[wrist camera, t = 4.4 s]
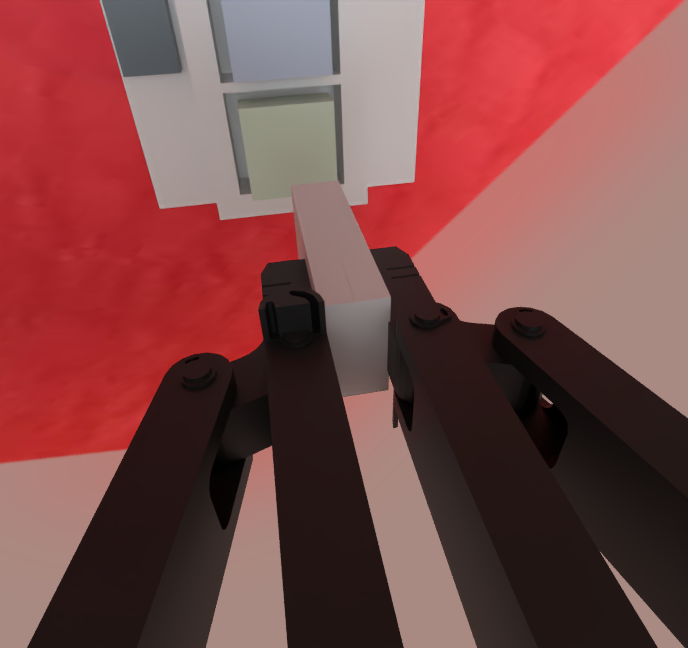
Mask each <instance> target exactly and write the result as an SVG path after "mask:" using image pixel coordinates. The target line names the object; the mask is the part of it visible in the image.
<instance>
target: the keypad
mask: <svg viewBox="0 0 688 648" xmlns="http://www.w3.org/2000/svg"><path fill="white" fill-rule="evenodd" d="M329 1H330V24H331V47H332V70H333V75H326V76H313V77H300V78H287V79H274V80H260V81H247V82H234V80H233V74H232V68H231V62H230V55H229V49H228V43H227V37H226V30H225V24H224V18H223V12H222V5H221V0H100V4H101V7H102V11H103V14H104V17H105V21H106V24H107V28H108V31H109V35H110V38H111V42H112V45H113V49H114V52H115V55H116V59H117V62H118V66H119V69H120V73H121V76H122V80H123V83H124V87H125V90H126V94H127V97H128V100H129V104H130V107H131V111H132V114H133V118H134V121H135V125H136V128H137V132H138V135H139V139H140V142H141V145H142V149H143V152H144V156H145V159H146V163H147V166H148V170H149V173H150V177H151V180H152V183H153V187H154V190H155V194H156V197H157V201H158V204H159V208H160V209H164V208H174V207H183V206H192V205H202V204H211V203H217V207H218V212H219V217H220V220H226V219H235V218H244V217H254V216H263V215H272V214H281V213H290V212H293V203H292V197H286V198H276V199H267V200H257V201H253V199H252V193H251V187H250V181H249V174H248V168H247V162H246V155H245V149H244V143H243V137H242V130H241V124H240V118H239V112H238V100H243V99H255V98H267V97H280V96H292V95H305V94H317V93H329V95H330V96H331V98H332V99H333V101H334V115H335V138H336V161H337V180H338V181H339V183H340V185H341V188H342V190H343V192H344V194H345V196H346V199H347V201H348V203H349V205H350V206H353V205H362V204H368V187H372V186H382V185H391V184H400V183H410V182H414V179H415V162H416V145H417V128H418V111H419V93H420V76H421V59H422V42H423V24H424V7H425V0H329Z"/></svg>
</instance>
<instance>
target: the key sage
mask: <svg viewBox="0 0 688 648" xmlns="http://www.w3.org/2000/svg"><path fill="white" fill-rule="evenodd" d="M238 112H239V118H240V124H241V130H242V137H243V143H244V149H245V155H246V162H247V168H248V174H249V181H250V187H251V193H252V199H253V201H257V200H267V199H276V198H286V197H292V193H291V185H298V184H308V183H318V182H327V181H337V161H336V138H335V115H334V101H333V99H332V98H331V96H330V95H329V93H317V94H305V95H292V96H280V97H267V98H255V99H243V100H238Z"/></svg>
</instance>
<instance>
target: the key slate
mask: <svg viewBox="0 0 688 648" xmlns="http://www.w3.org/2000/svg"><path fill="white" fill-rule="evenodd" d="M221 5H222V12H223V18H224V24H225V30H226V37H227V43H228V49H229V55H230V62H231V68H232V74H233V80H234V82H247V81H260V80H274V79H287V78H300V77H313V76H326V75H333V70H332V47H331V24H330V1H329V0H221Z"/></svg>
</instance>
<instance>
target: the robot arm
mask: <svg viewBox="0 0 688 648" xmlns="http://www.w3.org/2000/svg"><path fill="white" fill-rule="evenodd" d="M291 193H292V203H293V212H294V221H295V230H296V239H297V248H298V258H299V260H291V261H282V262H274V263H268V264H267V266H266V267H265V269H264V270H263V272H262V274H261V281H262V294H263V300H262V301H261V302H260V306H259V309H258V311H259V316H260V322H261V327H262V333H263V338H264V340H263V342H262V343H261V344H260V346H259V347H258V348H257V349H256V350H254V351H253V352H251V353H250V354H248V355H246V356H244V357H242V358H240V359H237V360H234V361H232V362H229V360H228V359H226V358H225V357H223V356H221V355H219V354H213V353H200V354H194V355H191V356H189V357H186V358H183V359H181V360H180V361H178V362H177V363H175V364H174V365H173V366H172V367H171V368H170V369H169V370H168V372H167V373H166V374H165V376H164V378H163V380H162V382H161V384H160V386H159V388H158V390H157V392H156V394H155V396H154V398H153V400H152V402H151V404H150V406H149V408H148V410H147V412H146V413H145V415H144V417H143V419H142V421H141V423H140V425H139V427H138V429H137V431H136V433H135V435H134V437H133V439H132V441H131V443H130V445H129V447H128V449H127V451H126V453H125V455H124V457H123V459H122V461H121V463H120V465H119V467H118V469H117V471H116V473H115V475H114V477H113V479H112V481H111V483H110V485H109V487H108V489H107V491H106V493H105V495H104V497H103V499H102V501H101V503H100V505H99V507H98V508H97V511H96V513H95V515H94V517H93V518H92V520H91V522H90V524H89V526H88V528H87V530H86V532H85V534H84V536H83V538H82V540H81V542H80V544H79V546H78V548H77V550H76V552H75V554H74V556H73V558H72V560H71V562H70V564H69V566H68V568H67V570H66V572H65V574H64V576H63V578H62V580H61V582H60V584H59V586H58V588H57V590H56V592H55V594H54V596H53V598H52V600H51V601H50V603H49V606H48V607H47V609H46V612H45V613H44V616H43V618H42V619H41V621H40V623H39V626H38V628H37V629H36V631H35V633H34V635H33V637H32V639H31V641H30V643H29V645H28V647H27V648H206V644H207V640H208V635H209V632H210V628H211V624H212V620H213V616H214V612H215V608H216V604H217V600H218V596H219V592H220V588H221V584H222V580H223V576H224V572H225V568H226V564H227V560H228V556H229V552H230V548H231V544H232V540H233V536H234V532H235V528H236V524H237V520H238V516H239V512H240V508H241V504H242V500H243V496H244V492H245V488H246V484H247V480H248V476H249V472H250V468H251V464H252V461H253V454H255V453H257V452H259V451H261V450H263V449H265V448H268V447H270V446H272V450H273V462H274V475H275V487H276V502H277V514H278V527H279V540H280V553H281V566H282V579H283V591H284V605H285V617H286V631H287V644H288V648H404V647H403V643H402V639H401V635H400V631H399V627H398V623H397V619H396V614H395V611H394V606H393V603H392V598H391V594H390V590H389V586H388V582H387V578H386V574H385V570H384V565H383V561H382V557H381V553H380V549H379V545H378V541H377V537H376V533H375V529H374V524H373V520H372V516H371V512H370V508H369V504H368V500H367V496H366V492H365V488H364V484H363V479H362V475H361V471H360V467H359V463H358V459H357V455H356V451H355V447H354V442H353V438H352V434H351V430H350V426H349V422H348V418H347V414H346V410H345V406H344V402H343V397H346V396H352V395H359V394H365V393H371V392H378V391H384V390H388V382H389V376H390V379H391V382H392V384H393V387H394V395H393V428H396V427H398V420H399V422H400V425H401V428H402V431H403V434H404V437H405V440H406V443H407V446H408V448H409V451H410V454H411V457H412V460H413V463H414V466H415V469H416V472H417V474H418V477H419V480H420V483H421V486H422V489H423V492H424V495H425V498H426V501H427V504H428V506H429V509H430V512H431V515H432V518H433V521H434V524H435V526H436V530H437V532H438V535H439V538H440V541H441V544H442V547H443V550H444V553H445V556H446V558H447V561H448V564H449V567H450V570H451V573H452V576H453V579H454V582H455V584H456V587H457V590H458V593H459V596H460V599H461V602H462V605H463V608H464V611H465V614H466V616H467V619H468V622H469V625H470V628H471V631H472V634H473V637H474V639H475V642H476V645H477V648H657V646H656V644H655V642H654V641H653V639H652V638H651V636H650V634H649V633H648V631H647V629H646V627H645V626H644V624H643V622H642V621H641V619H640V618H639V616H638V614H637V613H636V611H635V609H634V608H633V606H632V604H631V603H630V601H629V599H628V598H627V596H626V595H625V593H624V591H623V590H622V588H621V586H620V584H619V583H618V581H617V580H616V578H615V576H614V575H613V573H612V571H611V570H610V568H609V566H608V565H607V563H606V561H605V560H604V558H603V557H602V555H601V553H602V554H603V555H604V556H605V557H606V559H607V560H608V561H609V562H610V563H611V564H612V565H613V566H614V568H615V569H616V570H617V571H618V572H619V573H620V575H621V576H622V577H623V578H624V579H625V580H626V581H627V582H628V584H629V585H630V586H631V587H632V588H633V589H634V590H635V592H636V593H637V594H638V595H639V596H640V597H641V598H642V599H643V601H644V602H645V603H646V604H647V605H648V606H649V607H650V609H651V610H652V611H653V612H654V613H655V614H656V615H657V617H658V618H659V619H660V620H661V621H662V622H663V623H664V624H665V626H667V628H668V629H669V630H670V631H671V632H672V633H673V635H674V636H675V637H676V638H677V639H678V640H679V641H680V642H681V644H682V645H683V646H684V647H685V648H688V418H686V417H685V416H684V415H682V414H681V413H680V412H679V411H677V410H676V409H675V408H673V407H672V406H670V405H669V404H668V403H667V402H665V401H664V400H662V399H661V398H660V397H658V396H657V395H656V394H655V393H653V392H652V391H651V390H649V389H648V388H647V387H645V386H644V385H643V384H641V383H640V382H639V381H637V380H636V379H635V378H633V377H632V376H631V375H629V374H628V373H626V372H625V371H624V370H623V369H621V368H620V367H619V366H617V365H616V364H615V363H613V362H612V361H611V360H609V359H608V358H607V357H605V356H604V355H603V354H601V353H600V352H599V351H597V350H596V349H595V348H593V347H592V346H591V345H589V344H588V343H587V342H586V341H584V340H583V339H582V338H580V337H579V336H577V335H576V334H575V333H574V332H572V331H571V330H569V329H568V328H567V327H566V326H564V325H563V324H562V323H560V322H559V321H558V320H556V319H555V318H554V317H552V316H550V315H548V314H547V313H545V312H543V311H540V310H536V309H533V308H526V307H516V308H509V309H506V310H504V311H503V312H501V313H499V315H498V317H497V318H496V320H495V325H491V324H477V323H469V322H463V321H460V320H459V319H458V317H457V315H456V314H455V313H454V312H453V311H452V310H451V309H450V308H449V307H447V306H445V305H442V304H440V303H436V302H435V300H434V299H433V297H432V295H431V293H430V292H429V290H428V288H427V286H426V285H425V283H424V281H423V279H422V278H421V276H419V272H418V271H417V269H416V267H414V264H413V262H412V260H411V258H410V257H409V255H408V254H407V253H405V252H404V251H402V250H401V249H399V248H398V247H396V246H395V247H387V248H378V249H370V250H369V247H368V245H367V243H366V241H365V239H364V236H363V234H362V232H361V230H360V227H359V225H358V223H357V221H356V219H355V216H354V214H353V212H352V210H351V208H350V205H349V203H348V201H347V199H346V196H345V194H344V192H343V190H342V188H341V185H340V183H339V181H338V180H337V181H327V182H318V183H308V184H298V185H291ZM542 394H544V395H545V396H546V397H547V398H548V399H549V400H550V401H551V402H552V403H553V404H550V403H548V402H547V401H546V400H545V399H544V398H542ZM600 552H601V553H600Z"/></svg>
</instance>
